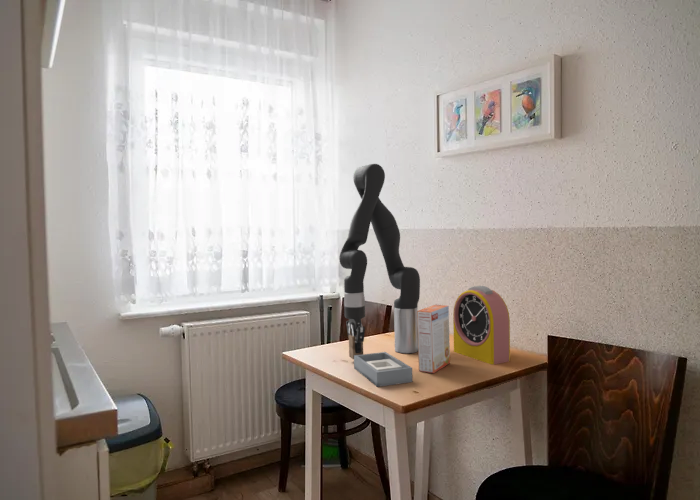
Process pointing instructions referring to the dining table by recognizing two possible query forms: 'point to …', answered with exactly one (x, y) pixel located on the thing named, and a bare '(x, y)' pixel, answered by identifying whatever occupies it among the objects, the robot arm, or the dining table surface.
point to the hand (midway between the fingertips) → (356, 351)
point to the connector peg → (353, 347)
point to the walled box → (382, 369)
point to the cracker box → (433, 338)
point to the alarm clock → (482, 326)
